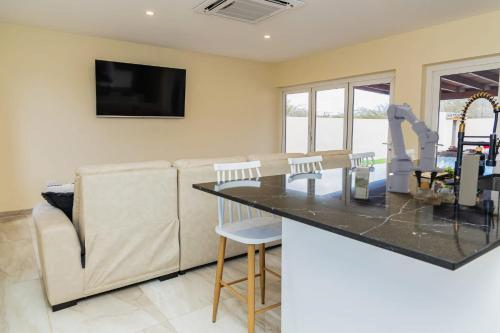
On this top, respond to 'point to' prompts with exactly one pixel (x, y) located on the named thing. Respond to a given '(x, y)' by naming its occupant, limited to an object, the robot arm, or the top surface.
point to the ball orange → (425, 185)
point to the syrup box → (361, 182)
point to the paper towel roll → (469, 179)
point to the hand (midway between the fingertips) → (424, 187)
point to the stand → (432, 200)
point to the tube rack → (435, 195)
